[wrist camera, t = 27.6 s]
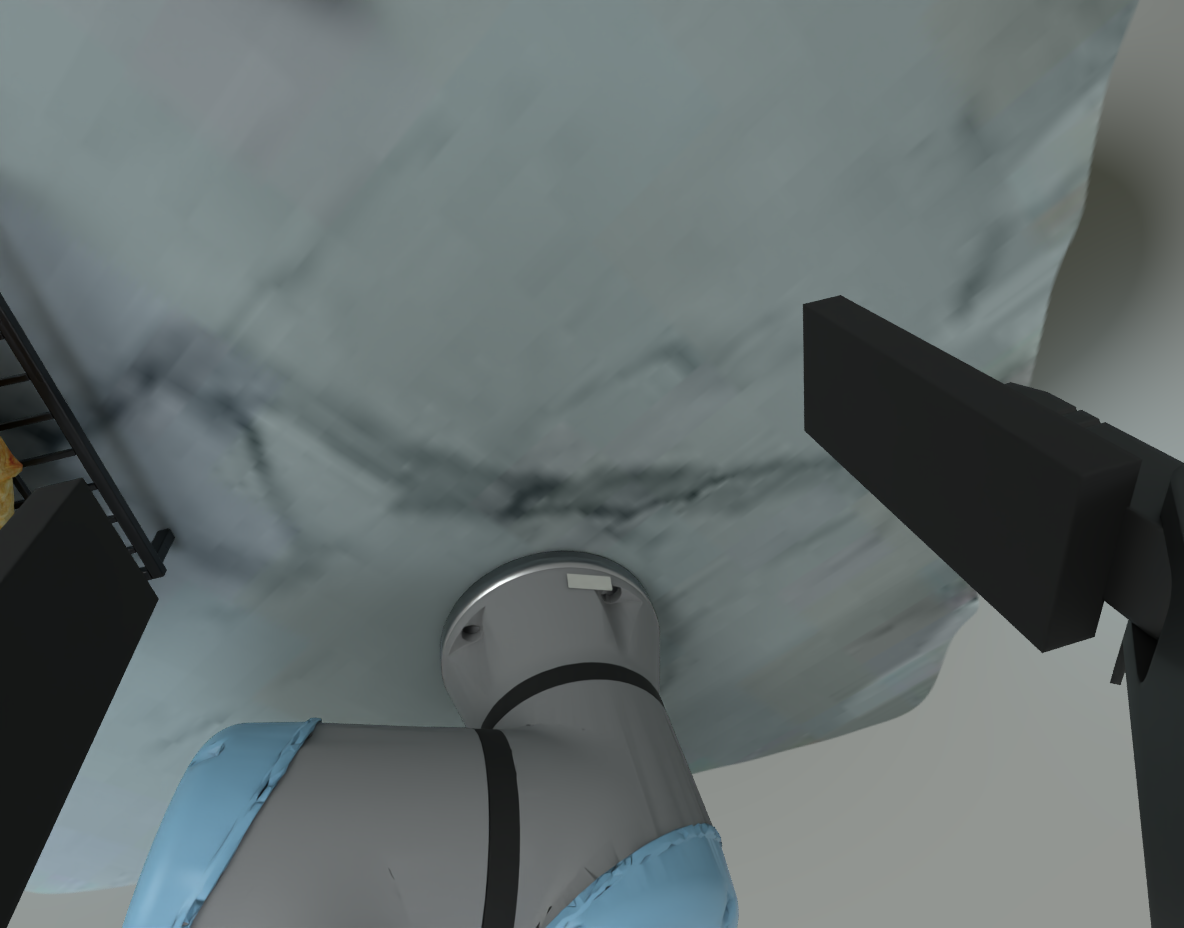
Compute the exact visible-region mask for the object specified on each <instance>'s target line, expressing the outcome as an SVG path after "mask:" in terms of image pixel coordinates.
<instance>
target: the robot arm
mask: <svg viewBox="0 0 1184 928" xmlns="http://www.w3.org/2000/svg"><path fill="white" fill-rule="evenodd" d="M803 342H804V430H805V432H806V433H808V434H809V435H810V436H811V437H812V438H813V439H814V440H815V441H816V442H817V443H818V444H819V445H820V446H821V447H823V448H824V449H825V450H826V451H827V452H828V453H829V454H830V455H831V456H832V457H833V458H834V459H835V460H836V461H837V462H839V463H840V464H841V465H842V466H843V467H844V468H845V469H846V470H847V471H848V472H849V473H850V474H851V475H852V476H854V477H855V478H856V479H857V480H858V481H859V482H860V483H861V484H862V485H863V486H864V487H865V488H866V489H867V490H869V491H870V492H871V493H872V494H873V495H874V496H875V497H876V498H877V499H878V500H879V501H880V502H881V503H882V504H883V505H885V506H886V507H887V508H888V509H889V510H890V511H891V512H892V513H893V514H894V515H895V516H896V517H897V518H898V519H900V520H901V521H902V522H903V523H904V524H905V525H906V526H907V527H908V528H909V529H910V530H911V531H912V532H913V533H915V534H916V535H917V536H918V537H919V538H920V539H921V540H922V541H923V542H924V543H925V544H926V545H927V546H928V547H929V548H931V549H932V550H933V551H934V552H935V553H936V554H937V555H938V556H939V557H940V558H941V559H942V560H943V561H944V562H946V563H947V564H948V565H949V566H950V567H951V568H952V569H953V570H954V571H955V572H956V573H957V574H958V575H959V576H961V577H962V578H963V579H964V580H965V581H966V582H967V583H968V584H969V585H970V586H971V587H972V588H973V589H974V590H976V591H977V592H978V593H979V594H980V595H981V596H982V597H983V598H984V599H985V600H986V601H987V602H988V603H989V604H990V605H992V606H993V607H994V608H995V609H996V610H997V611H998V612H999V613H1000V614H1001V615H1002V616H1003V617H1004V618H1006V619H1007V620H1008V621H1009V622H1010V623H1011V624H1012V625H1013V626H1014V627H1015V628H1016V629H1017V630H1018V631H1019V632H1020V633H1022V634H1023V635H1024V636H1025V637H1026V638H1027V639H1028V640H1029V641H1030V642H1031V643H1032V644H1033V645H1034V646H1035V647H1037V648H1038V649H1039V650H1040V651H1041V652H1042V653H1044V652H1047V651H1050V650H1053V649H1057V648H1060V647H1063V646H1066V645H1070V644H1073V643H1076V642H1079V641H1083V640H1086V639H1089V638H1092V637H1095V633H1096V629H1097V625H1098V622H1099V618H1100V614H1101V611H1102V607H1103V603H1104V601H1106V602H1107V603H1108V604H1109V605H1110V606H1112V607H1113V608H1114V609H1116V610H1117V611H1118V612H1120V613H1121V614H1122V615H1123V616H1125V617H1126V618H1127V619H1129V620H1128V624H1127V627H1126V630H1125V634H1124V637H1123V640H1122V644H1121V647H1120V650H1119V654H1118V657H1117V660H1116V664H1115V667H1114V670H1113V674H1112V678H1111V681H1110V683H1113V684H1118V685H1121V682H1122V678H1123V676H1124V673H1126V680H1127V690H1128V700H1129V709H1130V720H1131V729H1132V740H1133V749H1134V760H1135V769H1136V779H1137V789H1138V799H1139V809H1140V819H1141V829H1142V838H1143V848H1144V857H1145V868H1146V878H1147V887H1148V898H1149V908H1150V917H1151V928H1184V463H1183V462H1181V461H1179V460H1177V459H1175V458H1173V457H1171V456H1169V455H1167V454H1166V453H1164V452H1162V451H1160V450H1158V449H1156V448H1154V447H1152V446H1150V445H1148V444H1146V443H1144V442H1142V441H1141V440H1139V439H1137V438H1135V437H1133V436H1131V435H1129V434H1127V433H1125V432H1123V431H1121V430H1119V429H1117V428H1115V427H1114V426H1111V425H1110V424H1108V423H1106V422H1105V423H1100V421H1099V419H1098V418H1096V417H1094V416H1092V415H1090V414H1088V413H1087V412H1085V411H1083V410H1079V411H1077V410H1076V407H1075V406H1073V405H1071V404H1069V403H1067V402H1065V401H1064V400H1062V399H1060V398H1058V397H1056V396H1054V395H1052V394H1050V393H1048V392H1045V391H1041V390H1038V389H1034V388H1030V387H1026V386H1023V385H1019V384H1015V383H1011V382H1010V383H1007V384H1003V383H1001V382H999V381H997V380H996V379H994V378H992V377H990V376H988V375H986V374H985V373H983V372H981V371H979V370H977V369H975V368H974V367H972V366H970V365H968V364H966V363H964V362H962V361H961V360H959V359H957V358H955V357H953V356H951V355H950V354H948V353H946V352H944V351H942V350H940V349H939V348H937V347H935V346H933V345H931V344H929V343H928V342H926V341H924V340H922V339H920V338H918V337H916V336H915V335H913V334H911V333H909V332H907V331H905V330H904V329H902V328H900V327H898V326H896V325H894V324H893V323H891V322H889V321H887V320H885V319H883V318H882V317H880V316H878V315H876V314H874V313H872V312H870V311H869V310H867V309H865V308H863V307H861V306H859V305H858V304H856V303H854V302H852V301H850V300H848V299H847V298H845V297H843V296H841V295H839V296H835V297H831V298H827V299H823V300H819V301H815V302H810V303H806V304H803ZM157 602H158V597H157V595H156V594H155V592H154V591H153V589H152V587H151V586H150V584H149V583H148V581H147V579H146V578H145V576H144V575H143V573H142V571H141V570H140V568H139V567H138V565H137V563H136V562H135V560H134V559H133V557H132V555H131V554H130V552H129V551H128V549H127V547H126V546H125V544H124V543H123V541H122V539H121V538H120V536H119V535H118V533H117V531H116V530H115V528H114V527H113V525H112V523H111V522H110V520H109V519H108V517H107V515H106V514H105V512H104V511H103V509H102V507H101V506H100V504H99V503H98V501H97V499H96V498H95V496H94V495H93V493H92V491H91V490H90V488H89V487H88V485H87V483H86V482H85V480H84V479H83V478H79V479H75V480H70V481H66V482H62V483H58V484H54V485H50V486H46V487H41V488H37V489H35V490H34V491H33V493H32V494H31V495H30V496H29V497H28V498H27V499H26V501H25V502H24V503H23V504H22V505H21V506H20V508H19V509H18V510H17V511H16V512H15V513H14V514H13V516H12V517H11V518H10V519H9V520H8V521H7V523H6V524H5V525H4V526H3V527H2V528H1V529H0V928H7V926H8V924H9V921H10V919H11V917H12V915H13V913H14V911H15V908H16V906H17V904H18V902H19V900H20V898H21V896H22V893H23V891H24V889H25V887H26V885H27V883H28V880H29V878H30V876H31V874H32V872H33V870H34V867H35V865H36V863H37V861H38V859H39V857H40V855H41V852H42V850H43V848H44V846H45V844H46V842H47V839H48V837H49V835H50V833H51V831H52V829H53V826H54V824H55V822H56V820H57V818H58V816H59V813H60V811H61V809H62V807H63V805H64V803H65V800H66V798H67V796H68V794H69V792H70V790H71V788H72V785H73V783H74V781H75V779H76V777H77V775H78V772H79V770H80V768H81V766H82V764H83V762H84V759H85V757H86V755H87V753H88V751H89V749H90V746H91V744H92V742H93V740H94V738H95V736H96V733H97V731H98V729H99V727H100V725H101V723H102V721H103V718H104V716H105V714H106V712H107V710H108V708H109V705H110V703H111V701H112V699H113V697H114V695H115V692H116V690H117V688H118V686H119V684H120V682H121V679H122V677H123V675H124V673H125V671H126V669H127V666H128V664H129V662H130V660H131V658H132V656H133V654H134V651H135V649H136V647H137V645H138V643H139V641H140V638H141V636H142V634H143V632H144V630H145V628H146V625H147V623H148V621H149V619H150V617H151V615H152V612H153V610H154V608H155V606H156V604H157ZM440 649H441V670H442V677H443V681H444V685H445V688H446V690H447V692H448V694H449V696H450V698H451V700H452V702H453V703H454V705H455V707H456V709H457V711H458V713H459V714H460V716H461V718H462V720H463V722H464V724H465V725H466V727H467V728H458V727H414V726H387V725H363V724H339V723H322V719H321V718H310V719H309V720H308V721H306V722H268V723H242V724H237V725H233V726H230V727H228V728H225V729H223V730H222V731H220V732H218V733H217V734H215V735H214V736H213V737H212V738H210V739H209V740H208V741H207V742H206V743H205V744H204V745H203V746H202V748H201V749H200V750H199V751H198V753H197V754H196V755H195V757H194V758H193V760H192V762H191V763H190V765H189V766H188V768H187V770H186V772H185V774H184V776H183V777H182V779H181V781H180V783H179V785H178V787H177V789H176V791H175V793H174V795H173V798H172V800H171V802H170V804H169V806H168V808H167V810H166V813H165V815H164V818H163V820H162V822H161V825H160V827H159V829H158V832H157V834H156V837H155V839H154V841H153V844H152V846H151V849H150V851H149V854H148V856H147V859H146V861H145V864H144V867H143V869H142V872H141V875H140V877H139V880H138V883H137V886H136V888H135V891H134V894H133V897H132V900H131V903H130V906H129V908H128V912H127V914H126V917H125V921H124V923H123V926H122V928H737V925H738V916H739V915H738V901H737V897H736V893H735V890H734V887H733V884H732V880H731V877H730V874H729V870H728V867H727V864H726V861H725V857H724V854H723V851H722V842H721V837H720V835H719V833H718V832H717V830H716V829H715V827H713V826H712V823H711V821H710V818H709V816H708V814H707V811H706V809H705V806H704V804H703V801H702V799H701V796H700V794H699V791H698V789H697V787H696V784H695V781H694V779H693V776H692V774H691V771H690V769H689V766H688V764H687V761H686V759H685V757H684V754H683V752H682V749H681V747H680V744H679V742H678V739H677V737H676V734H675V732H674V729H673V727H672V724H671V722H670V719H669V717H668V715H667V713H666V710H665V708H664V705H663V702H662V700H661V697H660V695H659V687H660V629H659V623H658V619H657V616H656V613H655V611H654V608H653V606H652V604H651V602H650V599H649V597H648V595H647V593H646V591H645V589H644V588H643V586H642V585H641V583H640V582H639V581H638V580H637V579H636V578H635V577H634V576H633V575H632V574H631V573H630V572H629V571H628V570H626V569H625V568H623V567H622V566H620V565H619V564H617V563H615V562H613V561H611V560H608V559H606V558H603V557H600V556H597V555H593V554H589V553H583V552H574V551H555V552H545V553H539V554H534V555H530V556H526V557H523V558H520V559H517V560H514V561H512V562H509V563H507V564H504V565H502V566H500V567H498V568H496V569H495V570H493V571H491V572H490V573H488V574H486V575H485V576H484V577H482V578H481V579H479V580H478V581H477V582H476V583H474V584H473V585H472V586H471V587H470V588H469V589H468V590H467V591H466V592H465V593H464V594H463V595H462V596H461V597H460V599H459V600H458V601H457V602H456V604H455V605H454V607H453V609H452V610H451V612H450V614H449V616H448V618H447V620H446V622H445V625H444V628H443V632H442V636H441V644H440Z"/></svg>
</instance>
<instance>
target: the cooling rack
mask: <svg viewBox="0 0 1184 928" xmlns="http://www.w3.org/2000/svg"><path fill="white" fill-rule="evenodd" d="M2 339H5V340H6V341H7V343H8V345H9V346H10V348H11V349H12V351H13V353H14V354H15V356H16V358H17V359H18V361H19V362H20V364H21V366H22V367H23V369H24V371H25V372H26V373H23V374H18V375H14V376H9V377H5V378H0V387H1V386H6V385H10V384H15V383H19V382H24V381H28V380H31V382H32V383H33V385H34V387H35V388H36V390H37V392H38V393H39V395H40V396H41V398H42V400H43V401H44V403H45V405H46V406H47V408H48V409H49V411H50V412H46V413H42V414H37V415H33V416H29V417H24V418H20V419H16V420H11V421H7V422H3V423H0V431H3V430H7V429H12V428H16V427H20V426H24V425H29V424H33V423H37V422H42V421H46V420H50V419H55V421H56V422H57V424H58V426H59V427H60V429H61V430H62V432H63V434H64V435H65V437H66V438H67V440H68V442H69V443H70V445H71V447H72V448H71V449H67V450H63V451H58V452H54V453H50V454H46V455H42V456H37V457H33V458H29V459H25V460H20V461H19V462H20V463H21V464H22V465H23V466H22V468H24V467H28V466H32V465H37V464H41V463H45V462H49V461H54V460H58V459H62V458H66V457H70V456H75V455H77V456H78V458H79V460H80V461H81V463H82V464H83V466H84V468H85V469H86V471H87V472H88V474H89V476H90V477H91V479H92V481H93V482H94V483H90V484H87V485H88V487H89V488H90V490H91V491H93V490H97V489H98V490H99V492H100V494H101V495H102V497H103V498H104V500H105V502H106V503H107V505H108V506H109V508H110V510H111V511H112V513H113V516H109V517H108V519H109V520H110V522H111V523H115V522H117V521H118V523H119V524H120V526H121V528H122V529H123V531H124V532H125V534H126V536H127V537H128V539H129V540H130V542H131V544H132V545H133V546H131V547H127V549H128V551H129V552H130V554H132V553H136V552H137V553H138V555H139V557H140V558H141V560H142V562H143V563H144V565H145V567H141V568H140V570H141V571H142V573H143V575H144V576H145V578H146V579H147V581H148V580H152V579H155V578H159V577H163V576H164V575H165V573H166V571H167V569H166V568H165V566H164V564H163V561H164V559H165V557H166V555H167V553H168V551H169V549H170V547H171V544H172V542H173V540H174V538H175V537H174V535H173V534H172V532H171V530H170V529H166V530H162V531H158V532H157V534H156V536H155V538H154V539H153V541H152V543H150V541H149V539H148V538H147V536H146V534H145V533H144V531H143V529H142V528H141V526H140V524H139V523H138V521H137V519H136V518H135V516H134V514H133V513H132V511H131V509H130V508H129V506H128V504H127V503H126V501H125V499H124V498H123V496H122V494H121V493H120V491H119V489H118V488H117V486H116V484H115V483H114V481H113V479H112V478H111V476H110V474H109V473H108V471H107V469H106V468H105V466H104V464H103V463H102V461H101V459H100V458H99V456H98V454H97V453H96V451H95V449H94V448H93V446H92V444H91V443H90V441H89V439H88V438H87V436H86V434H85V433H84V431H83V429H82V428H81V426H80V424H79V423H78V421H77V419H76V418H75V416H74V414H73V413H72V411H71V409H70V408H69V406H68V404H67V403H66V401H65V399H64V398H63V396H62V394H61V393H60V391H59V390H58V388H57V386H56V385H55V383H54V381H53V380H52V378H51V376H50V375H49V373H48V371H47V370H46V368H45V366H44V365H43V363H42V361H41V360H40V358H39V356H38V355H37V353H36V351H35V350H34V348H33V346H32V345H31V343H30V341H29V340H28V338H27V336H26V335H25V333H24V331H23V330H22V328H21V326H20V325H19V323H18V321H17V320H16V318H15V316H14V315H13V313H12V311H11V310H10V308H9V306H8V305H7V303H6V301H5V300H4V298H3V296H2V295H1V293H0V340H2ZM12 479H13V484H14V485H15V487H16V488H17V489H18V491H19V492H20V494H21V495H22V497H23V498H24V500H20V501H16V502H14V510H15V509H19V508H20V506H21V505H22V504H23V503H24V502H25V501H26V499H27V498H28V497H29V496H30V495H31V494H32V493H31V492H30V490H29V489H28V487H27V486H26V484H25V483H24V481H23V480H22V478H21V477H20V475H19V474H18V475H17V476H16V477H12Z"/></svg>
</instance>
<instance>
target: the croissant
mask: <svg viewBox="0 0 1184 928" xmlns="http://www.w3.org/2000/svg"><path fill="white" fill-rule="evenodd" d="M22 466H23V465H22V464H21V463H20V462H19V461H18V460H17V459H16V458H15V457H14V456H13V454H12V453H11V451H10V450H9V448H8V447H7V445H6V444H5V442H4V441H3V439H2V438H1V436H0V529H1V528H2V527H3V526H4V525H5V524H6V523H7V521H8V520H9V519H10V518H11V517H12V516H13V514H14V489H13V479H12V477H16V476H17V475H18V474H19V473H20V472H21V471H22Z"/></svg>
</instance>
